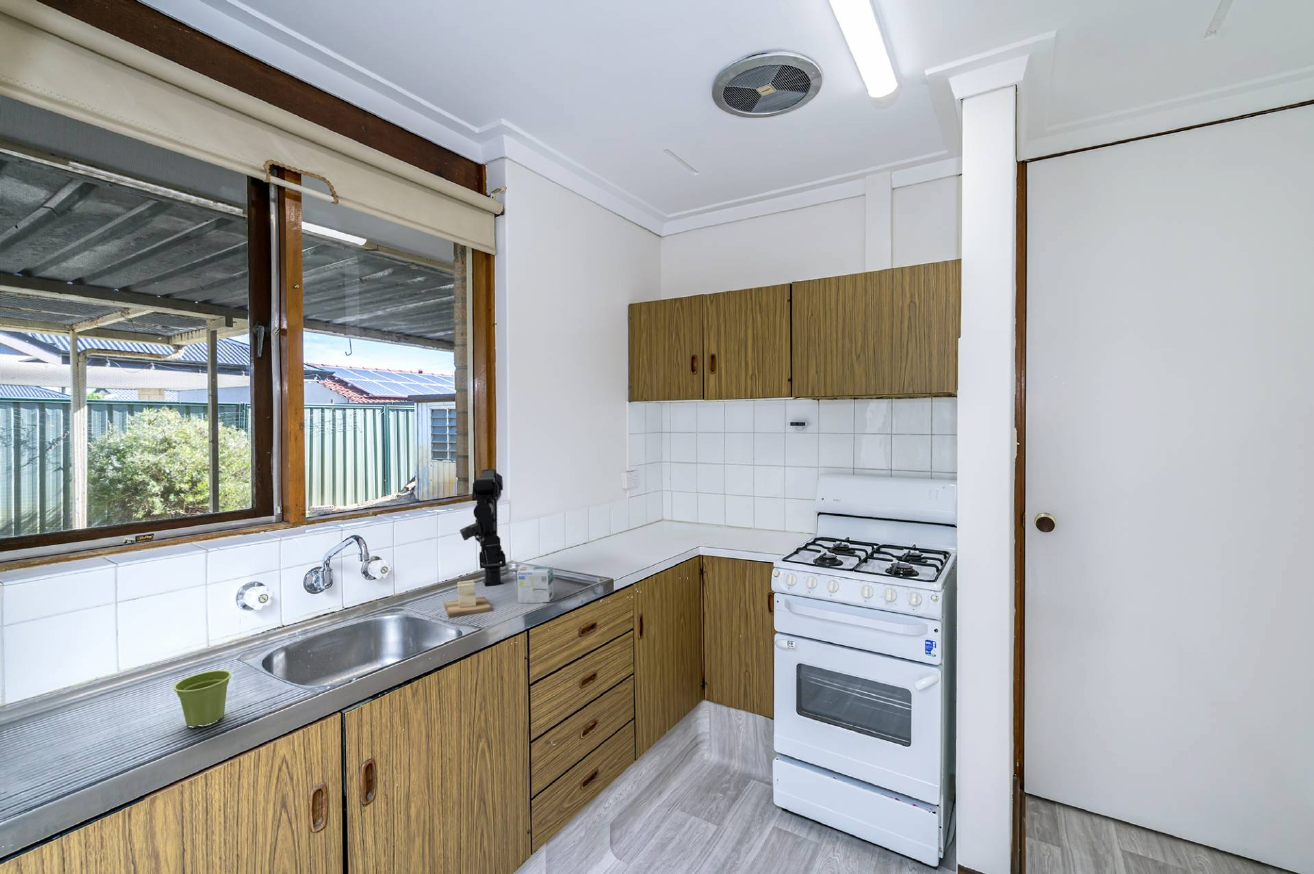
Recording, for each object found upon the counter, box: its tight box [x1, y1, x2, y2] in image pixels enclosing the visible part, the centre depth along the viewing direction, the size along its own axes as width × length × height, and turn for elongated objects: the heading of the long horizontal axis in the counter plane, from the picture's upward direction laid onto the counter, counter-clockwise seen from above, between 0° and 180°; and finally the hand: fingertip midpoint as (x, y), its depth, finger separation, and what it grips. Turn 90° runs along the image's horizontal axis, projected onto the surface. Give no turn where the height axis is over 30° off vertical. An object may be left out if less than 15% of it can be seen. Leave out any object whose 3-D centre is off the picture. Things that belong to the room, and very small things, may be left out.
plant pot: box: [173, 669, 232, 726], centre depth 120 cm, size 9×9×9 cm
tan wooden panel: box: [443, 596, 493, 619], centre depth 189 cm, size 13×13×2 cm
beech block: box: [457, 579, 477, 608], centre depth 189 cm, size 5×5×7 cm
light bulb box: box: [516, 565, 555, 604], centre depth 196 cm, size 11×7×11 cm, turn 87°
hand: (487, 561), depth 200 cm, fingers open, 9 cm apart
